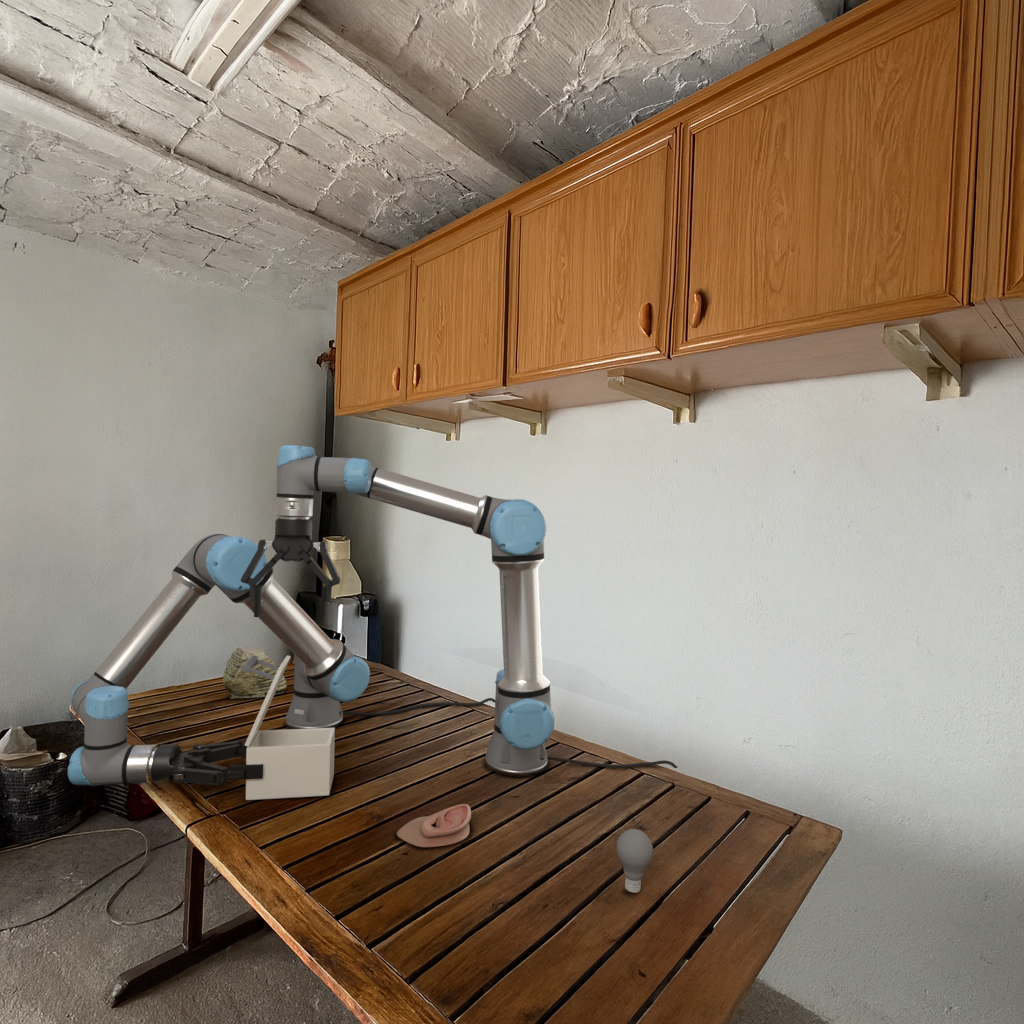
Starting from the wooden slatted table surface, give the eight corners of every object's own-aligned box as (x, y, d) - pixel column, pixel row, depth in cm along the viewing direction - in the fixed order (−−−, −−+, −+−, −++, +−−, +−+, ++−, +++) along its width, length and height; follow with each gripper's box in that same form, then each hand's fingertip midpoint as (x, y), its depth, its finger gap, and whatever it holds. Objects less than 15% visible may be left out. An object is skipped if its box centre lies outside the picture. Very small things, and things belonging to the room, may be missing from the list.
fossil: (218, 695, 195) (220, 647, 195) (278, 685, 208) (279, 640, 207) (228, 703, 189) (230, 653, 188) (289, 692, 201) (290, 645, 201)
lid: (291, 656, 141) (257, 643, 140) (282, 668, 131) (246, 655, 130) (258, 729, 141) (224, 717, 139) (248, 746, 131) (211, 734, 129)
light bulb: (610, 879, 108) (613, 822, 108) (644, 879, 109) (647, 822, 109) (619, 902, 102) (622, 840, 102) (655, 901, 103) (658, 840, 103)
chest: (333, 774, 144) (334, 727, 144) (329, 795, 134) (330, 744, 134) (256, 778, 141) (257, 730, 141) (245, 800, 131) (246, 748, 131)
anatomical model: (391, 821, 117) (413, 793, 128) (390, 842, 117) (412, 813, 128) (460, 832, 114) (476, 802, 125) (459, 853, 114) (475, 822, 126)
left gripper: (174, 759, 143) (276, 756, 148) (133, 808, 121) (255, 803, 125) (175, 726, 143) (278, 724, 147) (134, 769, 121) (257, 765, 125)
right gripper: (227, 516, 130) (224, 619, 130) (352, 520, 135) (348, 620, 135) (236, 515, 137) (233, 612, 138) (354, 519, 142) (351, 613, 142)
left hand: (267, 760), depth 136 cm, fingers closed on chest, 10 cm apart
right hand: (290, 616), depth 136 cm, fingers open, 13 cm apart
